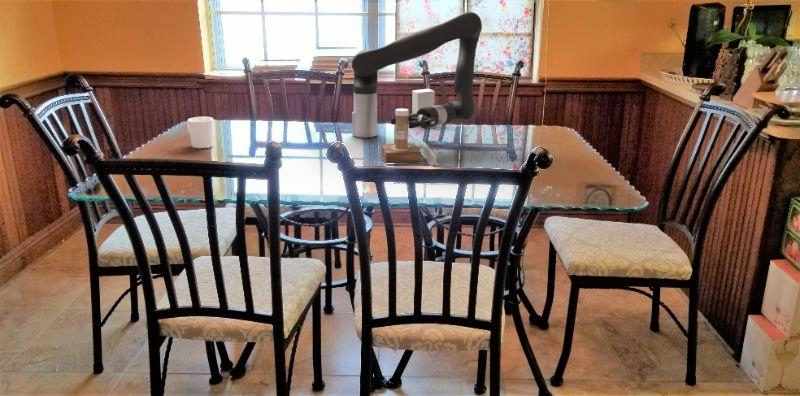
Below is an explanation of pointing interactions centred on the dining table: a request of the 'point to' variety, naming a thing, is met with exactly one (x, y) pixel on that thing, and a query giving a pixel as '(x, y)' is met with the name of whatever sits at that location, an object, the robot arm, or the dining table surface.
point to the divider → (428, 154)
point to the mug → (201, 132)
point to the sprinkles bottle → (401, 128)
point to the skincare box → (422, 99)
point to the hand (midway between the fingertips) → (400, 123)
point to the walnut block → (400, 154)
